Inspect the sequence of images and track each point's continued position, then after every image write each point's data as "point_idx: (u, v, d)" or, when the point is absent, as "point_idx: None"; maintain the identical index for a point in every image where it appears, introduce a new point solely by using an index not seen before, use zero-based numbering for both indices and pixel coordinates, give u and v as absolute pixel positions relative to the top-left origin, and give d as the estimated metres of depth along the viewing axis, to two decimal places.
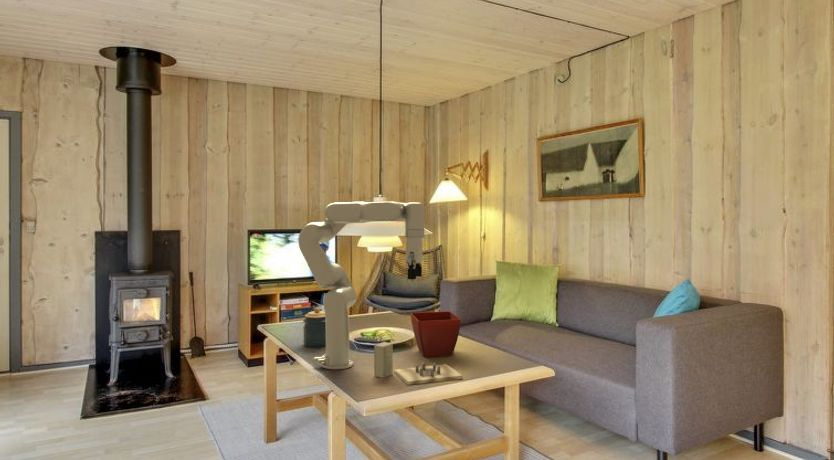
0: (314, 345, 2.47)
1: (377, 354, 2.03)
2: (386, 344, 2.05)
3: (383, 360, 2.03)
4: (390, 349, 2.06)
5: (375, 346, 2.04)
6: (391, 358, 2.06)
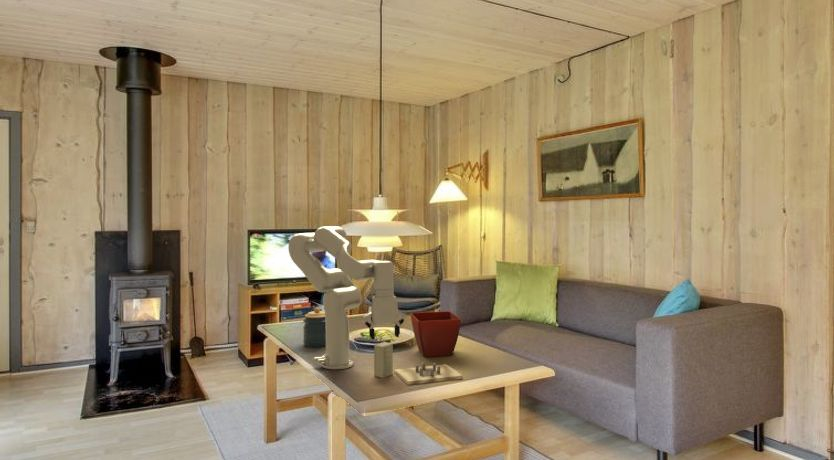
0: (314, 345, 2.47)
1: (377, 354, 2.03)
2: (386, 344, 2.05)
3: (383, 360, 2.03)
4: (390, 349, 2.06)
5: (375, 346, 2.04)
6: (391, 358, 2.06)
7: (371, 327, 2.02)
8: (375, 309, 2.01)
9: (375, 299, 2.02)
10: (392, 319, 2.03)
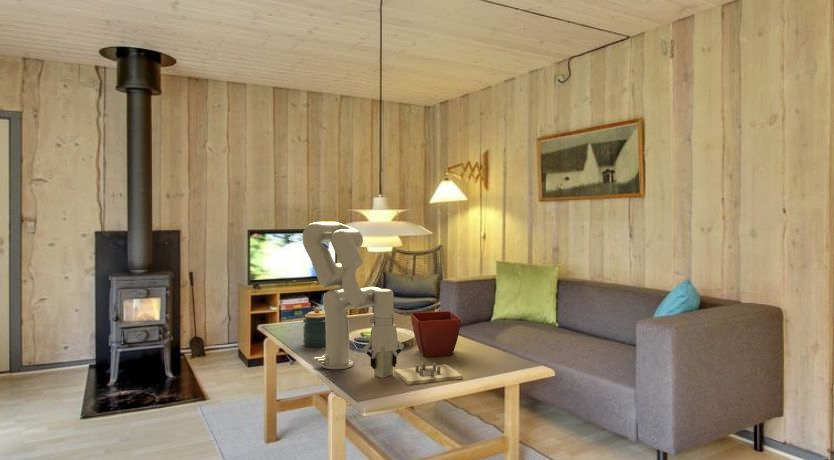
0: (314, 345, 2.47)
1: (377, 354, 2.03)
2: None
3: (383, 360, 2.03)
4: None
5: None
6: (391, 358, 2.06)
7: (372, 357, 2.03)
8: (374, 338, 2.02)
9: (375, 328, 2.02)
10: (391, 348, 2.04)
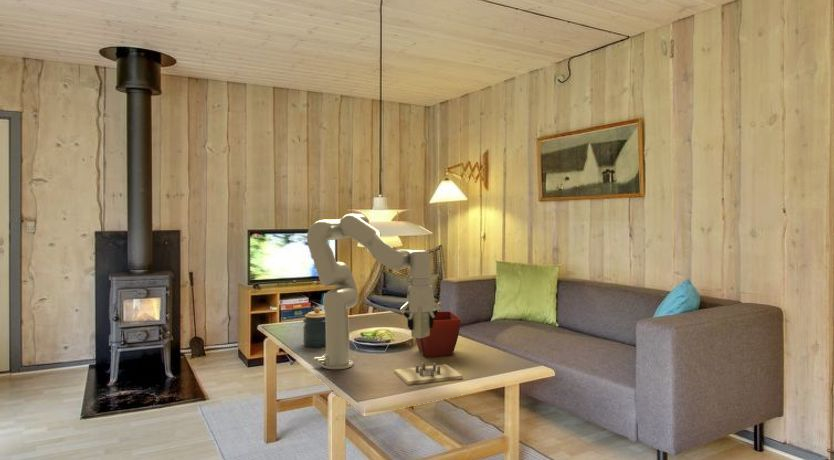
0: (314, 345, 2.47)
1: (414, 315, 2.03)
2: None
3: (420, 320, 2.02)
4: None
5: None
6: (428, 319, 2.05)
7: (410, 317, 2.02)
8: (412, 298, 2.01)
9: (412, 288, 2.01)
10: (428, 308, 2.03)
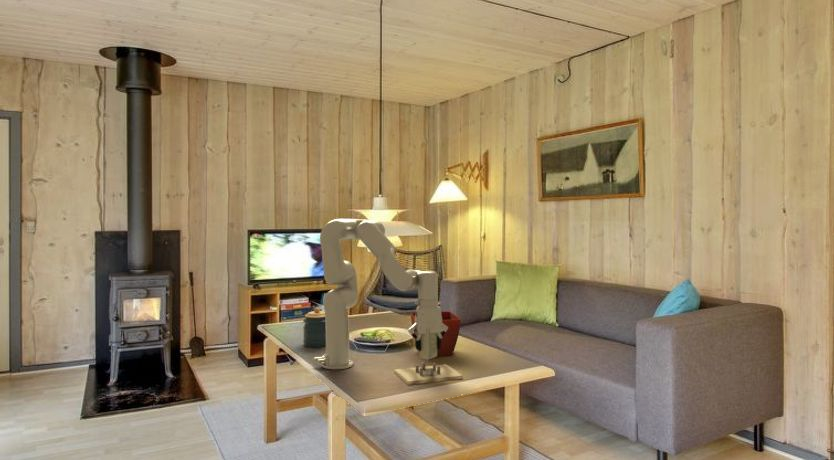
0: (314, 345, 2.47)
1: (422, 336, 2.03)
2: None
3: (428, 342, 2.02)
4: None
5: None
6: (436, 340, 2.06)
7: (417, 339, 2.03)
8: (420, 319, 2.01)
9: (420, 309, 2.02)
10: (436, 329, 2.03)
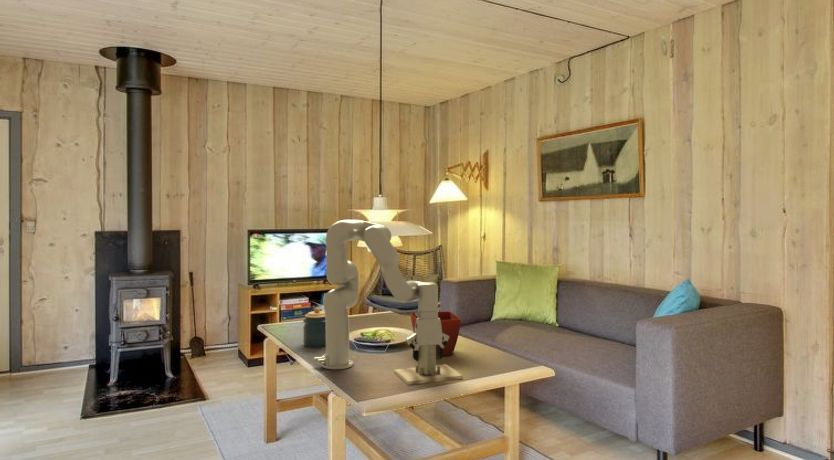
0: (314, 345, 2.47)
1: (421, 351, 2.03)
2: None
3: (427, 357, 2.02)
4: (434, 346, 2.05)
5: None
6: (434, 355, 2.06)
7: (415, 349, 2.02)
8: (420, 331, 2.01)
9: (420, 321, 2.02)
10: (436, 341, 2.04)
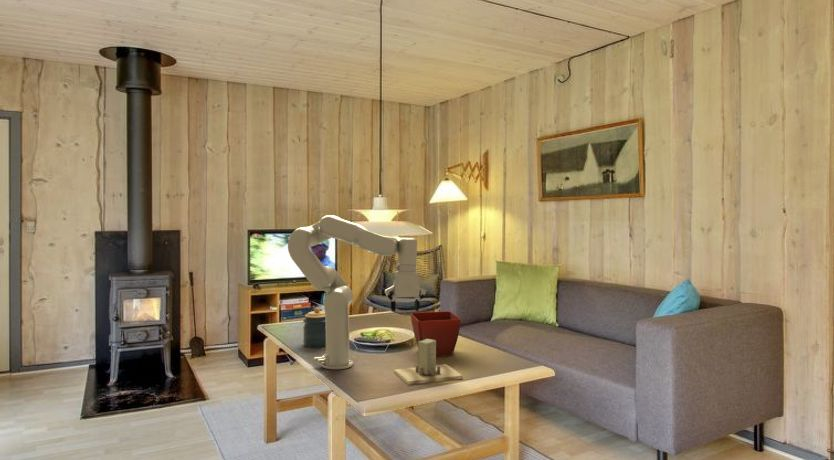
0: (314, 345, 2.47)
1: (421, 351, 2.03)
2: (430, 341, 2.05)
3: (427, 357, 2.02)
4: (434, 346, 2.05)
5: (419, 343, 2.04)
6: (434, 355, 2.06)
7: (393, 300, 2.13)
8: (397, 283, 2.12)
9: (398, 273, 2.12)
10: (413, 293, 2.14)
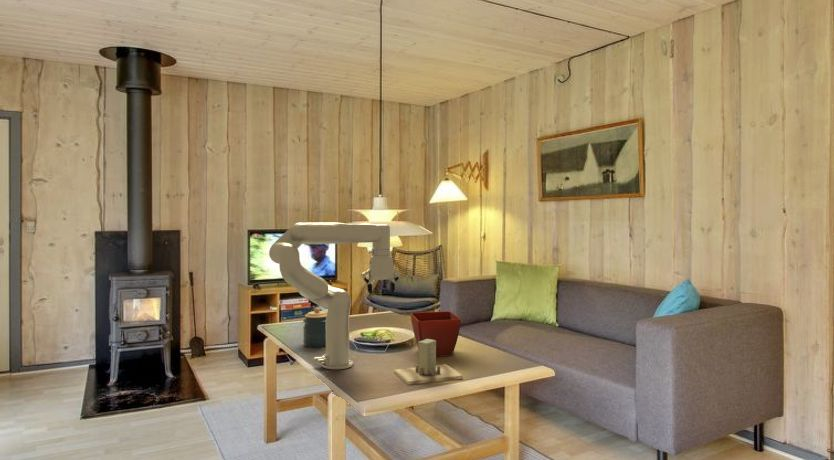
0: (314, 345, 2.47)
1: (421, 351, 2.03)
2: (430, 341, 2.05)
3: (427, 357, 2.02)
4: (434, 346, 2.05)
5: (419, 343, 2.04)
6: (434, 355, 2.06)
7: (369, 282, 2.26)
8: (373, 266, 2.26)
9: (373, 257, 2.26)
10: (388, 276, 2.28)
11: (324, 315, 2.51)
